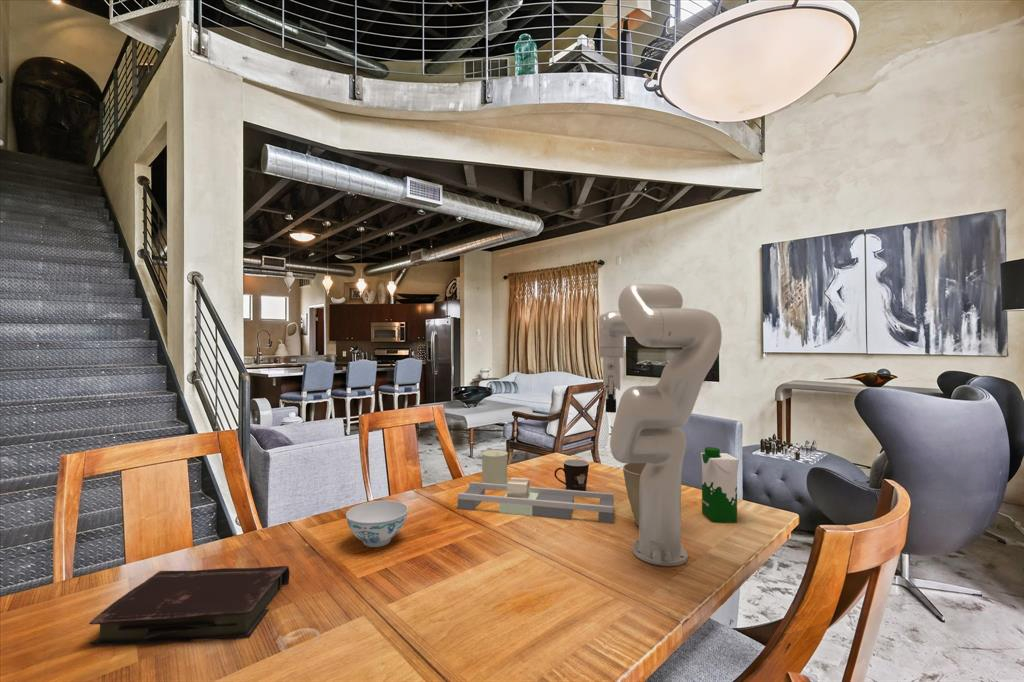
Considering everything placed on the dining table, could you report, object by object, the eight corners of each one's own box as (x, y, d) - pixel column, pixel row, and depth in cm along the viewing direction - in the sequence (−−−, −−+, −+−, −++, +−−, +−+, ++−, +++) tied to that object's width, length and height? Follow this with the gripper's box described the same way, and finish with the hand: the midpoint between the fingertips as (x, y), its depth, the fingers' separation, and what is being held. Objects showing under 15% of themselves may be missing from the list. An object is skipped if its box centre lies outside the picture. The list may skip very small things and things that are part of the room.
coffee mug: (588, 488, 156) (588, 459, 156) (589, 496, 148) (590, 466, 148) (554, 487, 158) (554, 458, 158) (554, 495, 149) (554, 465, 149)
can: (488, 491, 153) (488, 456, 153) (477, 483, 161) (477, 450, 161) (512, 487, 157) (512, 453, 157) (500, 480, 165) (500, 447, 165)
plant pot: (671, 516, 131) (671, 462, 131) (685, 538, 117) (686, 477, 117) (619, 514, 133) (619, 460, 133) (626, 535, 118) (627, 475, 118)
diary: (161, 592, 92) (161, 567, 92) (289, 586, 94) (289, 562, 94) (84, 653, 73) (85, 622, 73) (246, 644, 76) (247, 613, 76)
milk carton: (697, 511, 135) (698, 445, 135) (728, 512, 135) (728, 445, 135) (709, 523, 127) (710, 452, 127) (742, 524, 126) (742, 452, 126)
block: (526, 501, 135) (526, 484, 135) (506, 499, 136) (506, 483, 136) (529, 494, 140) (530, 478, 140) (511, 493, 142) (511, 477, 142)
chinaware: (332, 546, 111) (332, 515, 111) (377, 524, 124) (377, 496, 124) (377, 560, 104) (378, 527, 104) (419, 536, 117) (420, 506, 117)
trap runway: (613, 523, 126) (613, 507, 126) (457, 508, 137) (457, 493, 137) (613, 508, 138) (613, 493, 138) (470, 495, 148) (470, 481, 148)
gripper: (623, 353, 132) (623, 416, 132) (623, 352, 146) (623, 409, 146) (597, 353, 134) (597, 415, 134) (599, 352, 148) (599, 408, 148)
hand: (610, 412), depth 140 cm, fingers closed
